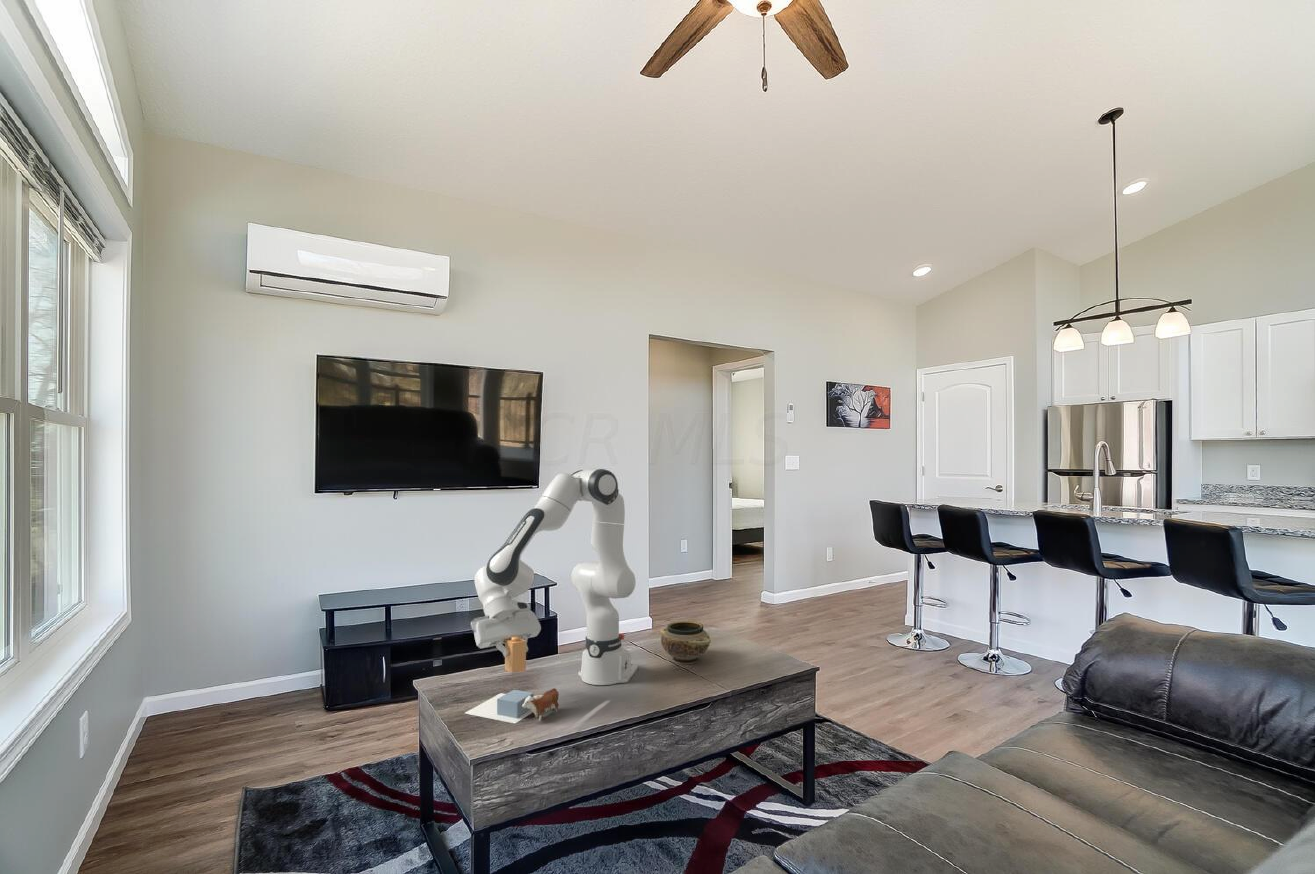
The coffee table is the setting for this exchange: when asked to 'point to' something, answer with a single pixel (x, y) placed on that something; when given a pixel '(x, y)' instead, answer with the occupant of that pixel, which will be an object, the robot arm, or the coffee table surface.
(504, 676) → the coffee table surface
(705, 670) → the coffee table surface
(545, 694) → the bull figurine
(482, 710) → the baseplate
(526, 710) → the base block
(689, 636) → the ceramic bowl
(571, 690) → the coffee table surface
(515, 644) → the tall brick
